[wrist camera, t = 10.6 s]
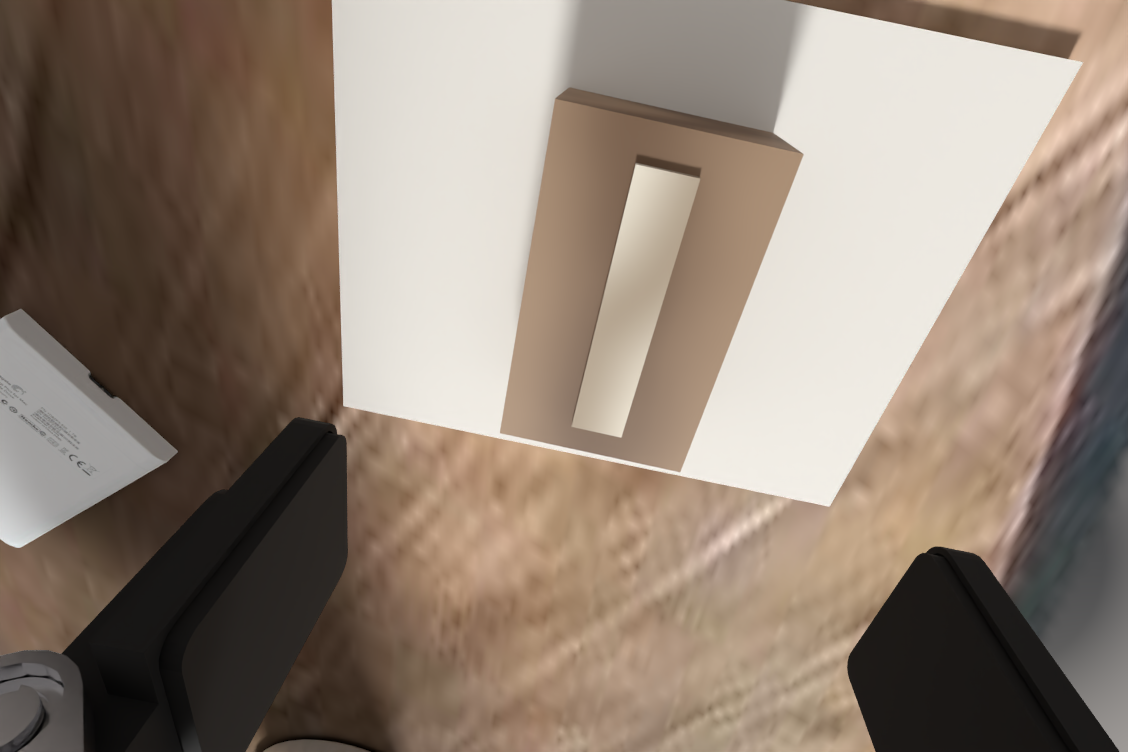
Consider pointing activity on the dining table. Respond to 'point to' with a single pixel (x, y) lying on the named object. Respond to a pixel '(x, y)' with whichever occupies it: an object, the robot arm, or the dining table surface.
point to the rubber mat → (698, 87)
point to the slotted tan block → (638, 273)
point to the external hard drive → (61, 435)
